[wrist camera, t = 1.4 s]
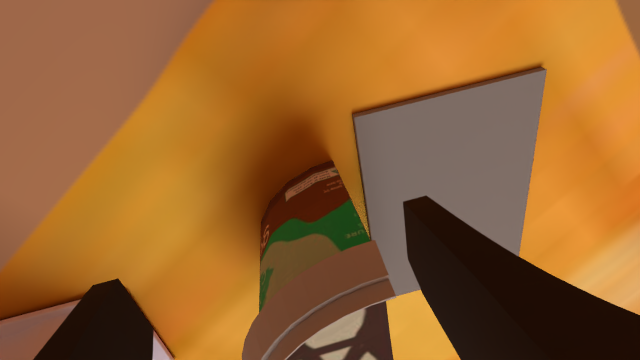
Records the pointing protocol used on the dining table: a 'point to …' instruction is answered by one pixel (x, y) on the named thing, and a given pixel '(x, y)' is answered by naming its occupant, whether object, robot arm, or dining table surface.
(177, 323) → the dining table surface
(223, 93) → the dining table surface
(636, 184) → the dining table surface
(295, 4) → the dining table surface
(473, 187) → the mat
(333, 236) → the food container
